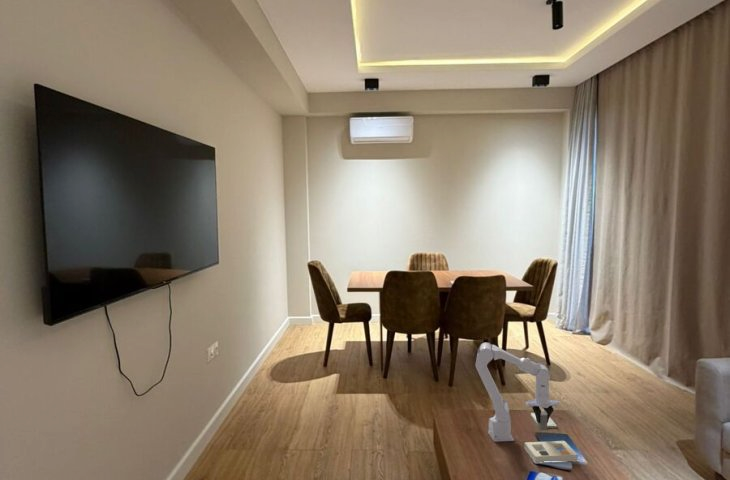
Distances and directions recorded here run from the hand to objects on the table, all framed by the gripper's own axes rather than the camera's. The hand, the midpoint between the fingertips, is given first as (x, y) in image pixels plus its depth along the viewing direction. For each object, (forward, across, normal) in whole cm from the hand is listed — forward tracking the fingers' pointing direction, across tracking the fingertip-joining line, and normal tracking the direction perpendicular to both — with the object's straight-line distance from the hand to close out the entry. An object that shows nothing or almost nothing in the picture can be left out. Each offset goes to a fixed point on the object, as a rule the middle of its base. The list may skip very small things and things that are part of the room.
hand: (542, 421), depth 171 cm
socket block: (+10, -1, -9) cm, 13 cm away
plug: (+3, 0, 0) cm, 3 cm away
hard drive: (+11, +10, +18) cm, 23 cm away
